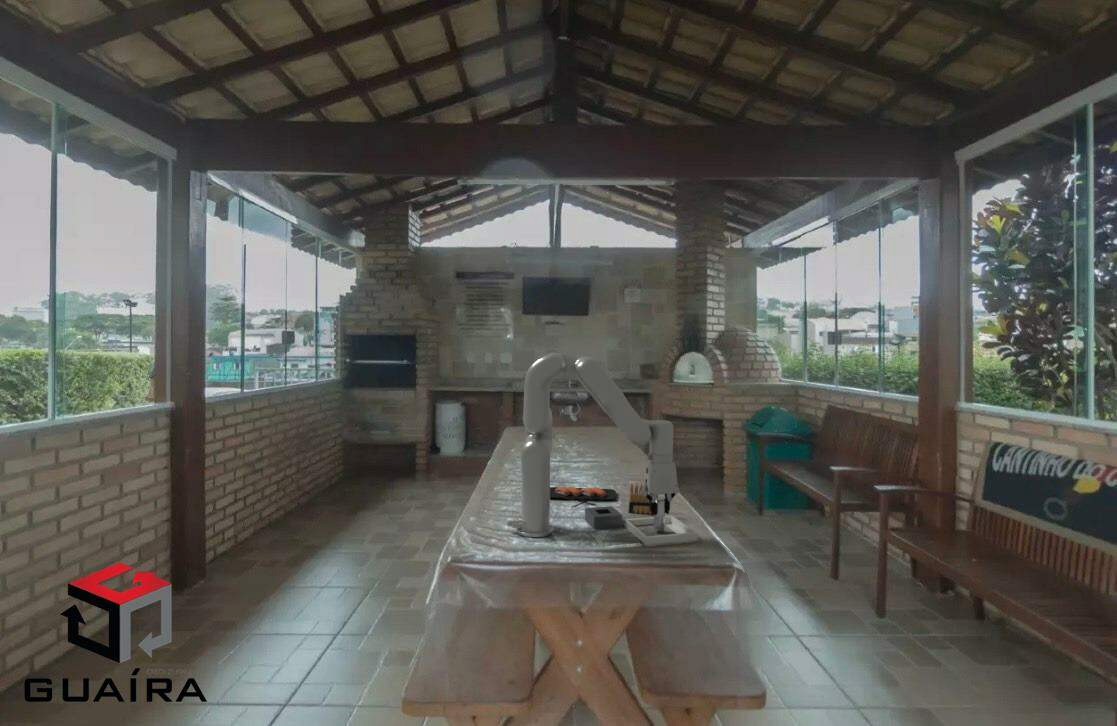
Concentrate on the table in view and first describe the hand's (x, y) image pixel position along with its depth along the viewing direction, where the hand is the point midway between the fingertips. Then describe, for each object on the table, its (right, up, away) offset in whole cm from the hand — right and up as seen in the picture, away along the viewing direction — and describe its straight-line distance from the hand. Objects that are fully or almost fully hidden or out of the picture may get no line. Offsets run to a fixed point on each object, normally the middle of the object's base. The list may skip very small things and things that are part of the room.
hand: (659, 512), depth 192 cm
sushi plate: (-25, -6, +37) cm, 46 cm away
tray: (0, -8, 0) cm, 8 cm away
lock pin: (0, -6, 0) cm, 6 cm away
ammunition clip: (-2, -7, +20) cm, 22 cm away
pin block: (-18, -7, +9) cm, 21 cm away
